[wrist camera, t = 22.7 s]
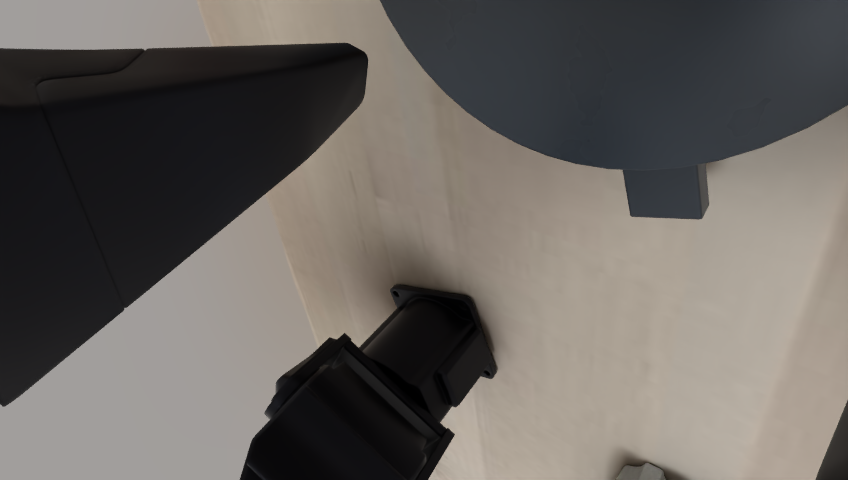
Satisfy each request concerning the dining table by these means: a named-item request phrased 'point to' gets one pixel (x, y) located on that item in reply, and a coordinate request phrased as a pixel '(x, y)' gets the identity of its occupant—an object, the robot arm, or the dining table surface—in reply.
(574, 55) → the pot lid
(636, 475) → the egg carton
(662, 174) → the pot
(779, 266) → the dining table surface
